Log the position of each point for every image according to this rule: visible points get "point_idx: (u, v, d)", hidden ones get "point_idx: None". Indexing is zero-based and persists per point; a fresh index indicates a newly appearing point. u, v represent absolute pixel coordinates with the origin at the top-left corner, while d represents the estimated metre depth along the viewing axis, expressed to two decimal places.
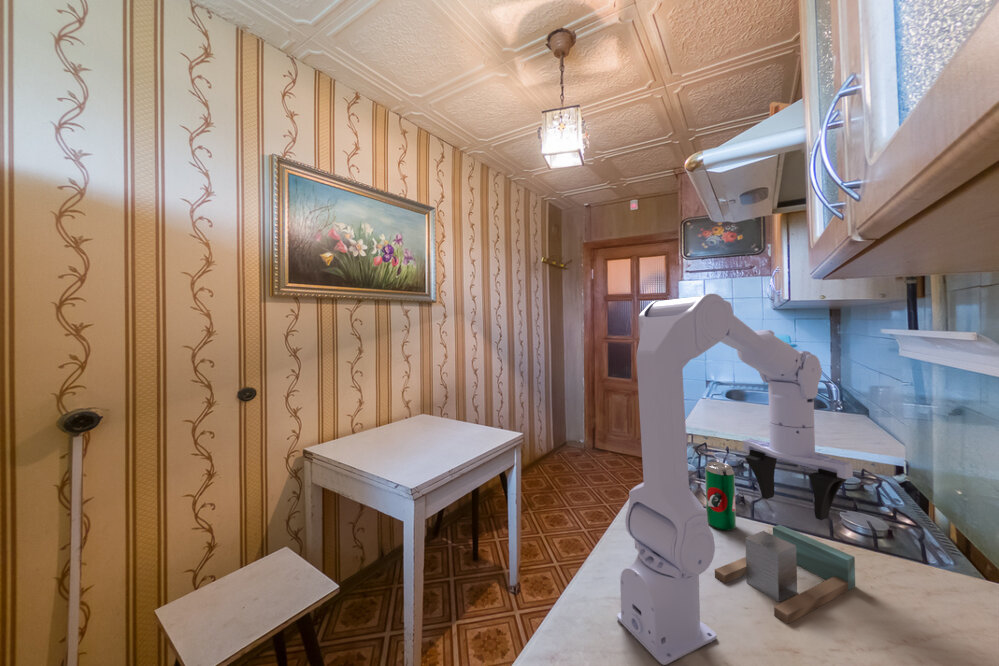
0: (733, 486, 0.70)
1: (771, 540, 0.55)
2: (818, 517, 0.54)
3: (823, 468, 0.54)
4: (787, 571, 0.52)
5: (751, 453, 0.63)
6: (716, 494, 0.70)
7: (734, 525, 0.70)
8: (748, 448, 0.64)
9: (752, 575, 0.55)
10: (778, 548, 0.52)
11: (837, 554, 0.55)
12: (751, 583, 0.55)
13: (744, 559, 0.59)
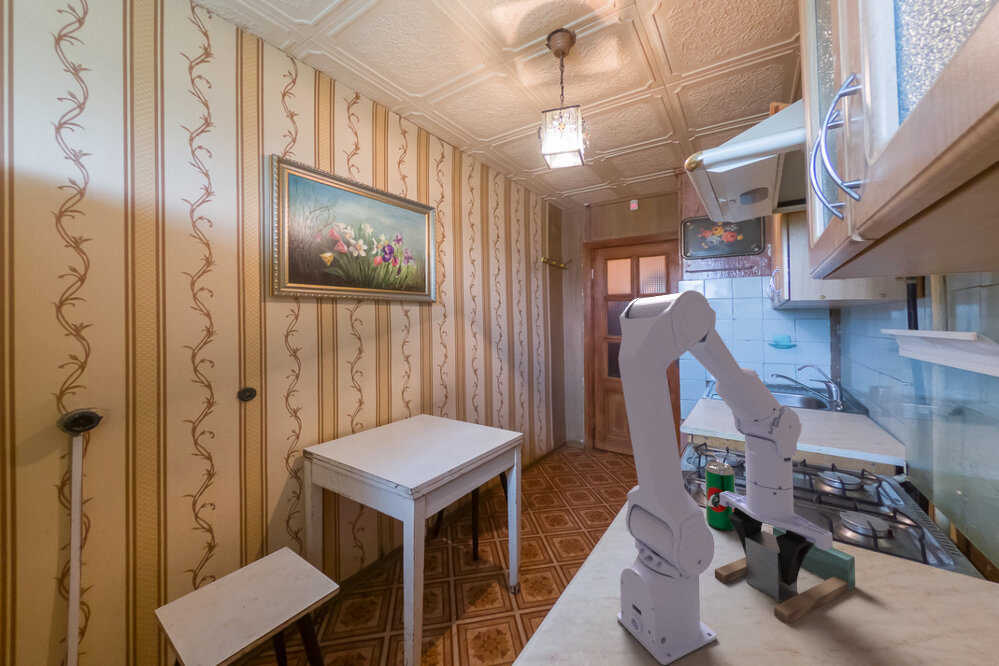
0: (733, 486, 0.70)
1: (771, 540, 0.55)
2: (786, 582, 0.51)
3: (791, 530, 0.51)
4: None
5: (735, 512, 0.58)
6: (716, 494, 0.70)
7: None
8: (725, 502, 0.60)
9: (752, 575, 0.55)
10: (777, 548, 0.52)
11: (837, 554, 0.55)
12: (751, 583, 0.55)
13: (744, 559, 0.59)
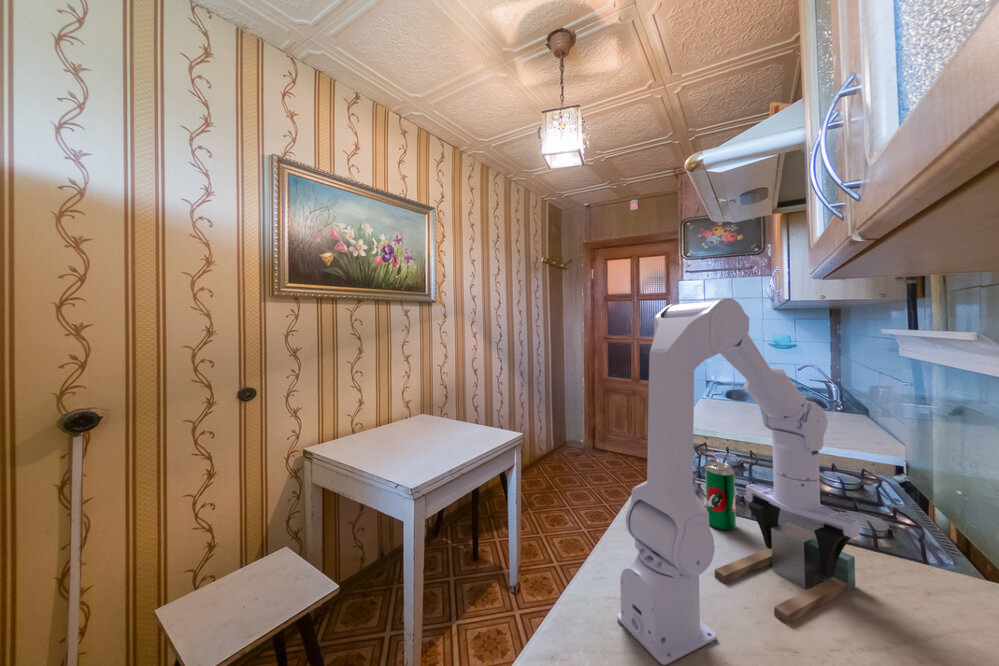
0: (733, 486, 0.70)
1: (796, 530, 0.57)
2: (824, 574, 0.53)
3: (829, 524, 0.53)
4: (812, 559, 0.55)
5: (754, 500, 0.62)
6: (716, 494, 0.70)
7: (734, 525, 0.70)
8: (751, 495, 0.62)
9: (778, 564, 0.57)
10: (803, 538, 0.55)
11: None
12: (777, 571, 0.57)
13: (744, 559, 0.59)
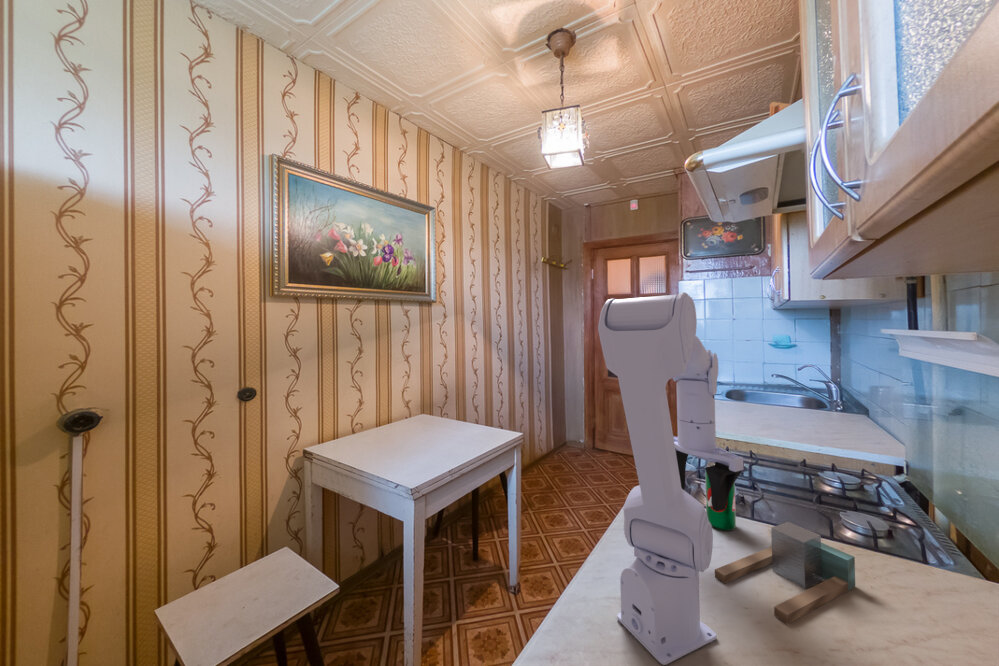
0: (733, 486, 0.70)
1: (796, 530, 0.57)
2: (715, 508, 0.57)
3: (719, 462, 0.57)
4: (812, 559, 0.55)
5: None
6: None
7: (734, 525, 0.70)
8: None
9: (778, 564, 0.57)
10: (803, 538, 0.55)
11: (837, 554, 0.55)
12: (777, 571, 0.57)
13: (744, 559, 0.59)
